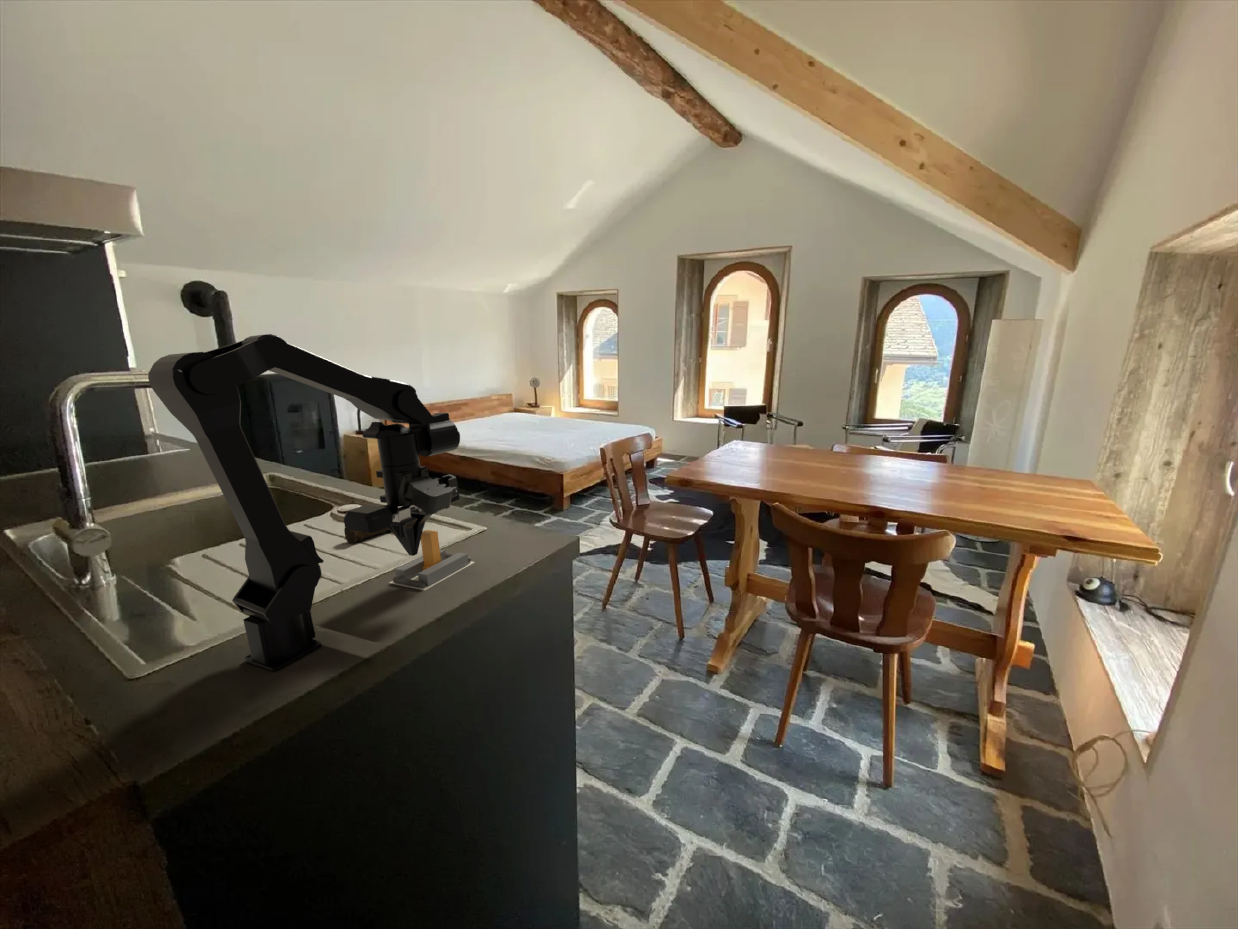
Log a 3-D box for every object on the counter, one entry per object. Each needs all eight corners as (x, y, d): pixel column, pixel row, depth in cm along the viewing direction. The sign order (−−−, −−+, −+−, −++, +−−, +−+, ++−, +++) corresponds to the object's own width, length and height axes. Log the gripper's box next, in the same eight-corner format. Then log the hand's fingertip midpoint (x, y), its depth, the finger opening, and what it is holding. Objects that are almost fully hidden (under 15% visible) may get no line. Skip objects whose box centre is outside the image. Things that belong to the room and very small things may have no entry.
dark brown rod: (353, 546, 108) (350, 525, 107) (344, 543, 111) (341, 522, 110) (433, 522, 123) (430, 503, 122) (423, 519, 125) (421, 501, 124)
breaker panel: (425, 598, 82) (423, 578, 82) (390, 591, 86) (387, 571, 85) (475, 569, 93) (473, 551, 92) (442, 564, 96) (440, 546, 96)
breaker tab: (433, 574, 87) (428, 535, 86) (423, 572, 88) (418, 533, 87) (443, 568, 89) (439, 530, 88) (433, 566, 90) (428, 529, 89)
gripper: (388, 479, 70) (403, 586, 73) (479, 453, 86) (488, 541, 89) (333, 475, 74) (350, 575, 78) (429, 450, 91) (440, 534, 94)
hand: (413, 554), depth 85 cm, fingers closed
